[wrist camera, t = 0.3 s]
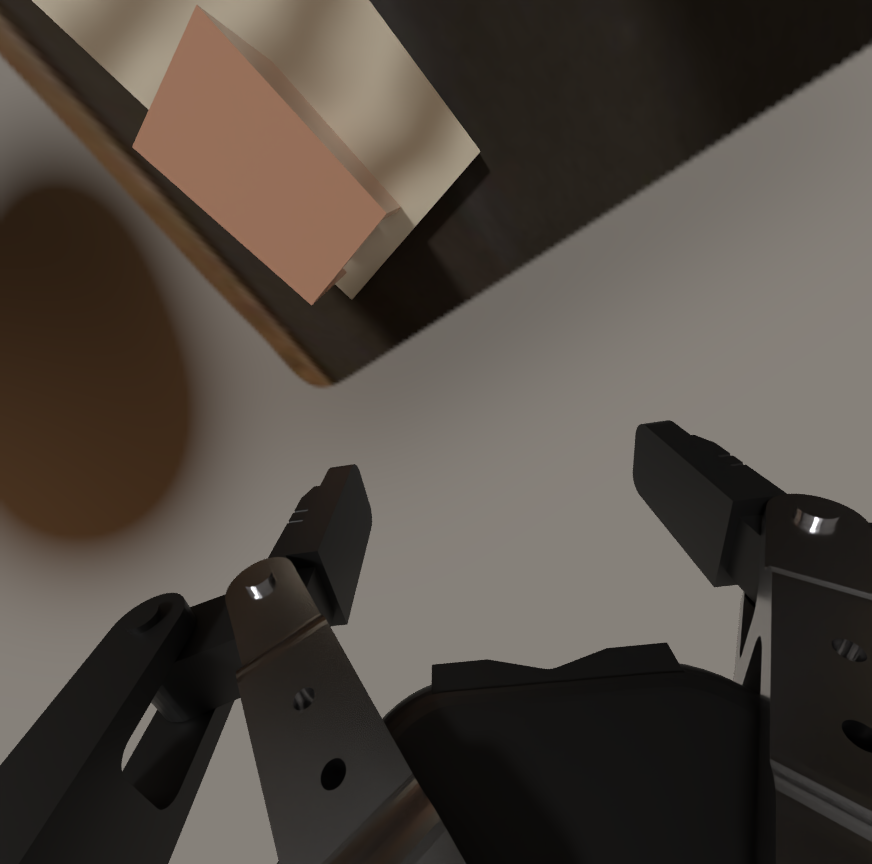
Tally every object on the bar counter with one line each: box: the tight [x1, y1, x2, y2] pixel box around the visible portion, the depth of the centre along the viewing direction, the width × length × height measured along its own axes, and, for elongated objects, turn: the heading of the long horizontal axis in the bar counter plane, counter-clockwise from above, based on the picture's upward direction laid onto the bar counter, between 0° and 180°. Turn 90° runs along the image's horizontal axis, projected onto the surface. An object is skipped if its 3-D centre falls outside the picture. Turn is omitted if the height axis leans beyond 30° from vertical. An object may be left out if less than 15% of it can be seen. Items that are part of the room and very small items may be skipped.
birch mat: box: [32, 0, 480, 300], centre depth 22 cm, size 24×13×1 cm, turn 45°
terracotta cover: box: [132, 5, 401, 305], centre depth 21 cm, size 10×6×8 cm, turn 44°
